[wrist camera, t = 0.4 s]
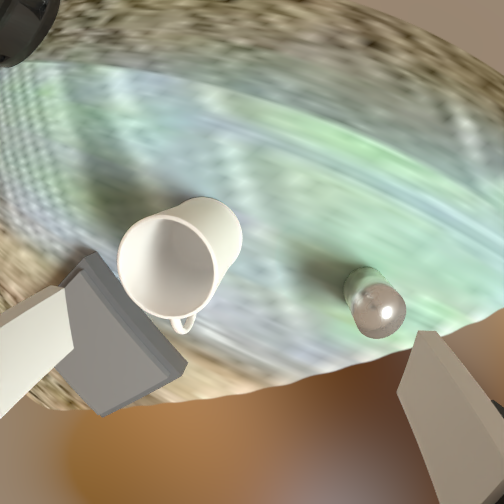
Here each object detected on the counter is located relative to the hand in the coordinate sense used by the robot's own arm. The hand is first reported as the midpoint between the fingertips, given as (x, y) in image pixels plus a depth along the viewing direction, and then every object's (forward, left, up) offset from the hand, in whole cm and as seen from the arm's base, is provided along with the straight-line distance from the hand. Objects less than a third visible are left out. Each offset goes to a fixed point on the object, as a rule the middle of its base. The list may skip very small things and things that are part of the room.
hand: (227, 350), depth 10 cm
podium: (-1, -27, -24) cm, 36 cm away
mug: (-2, -7, -24) cm, 25 cm away
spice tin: (+12, +5, -24) cm, 27 cm away
